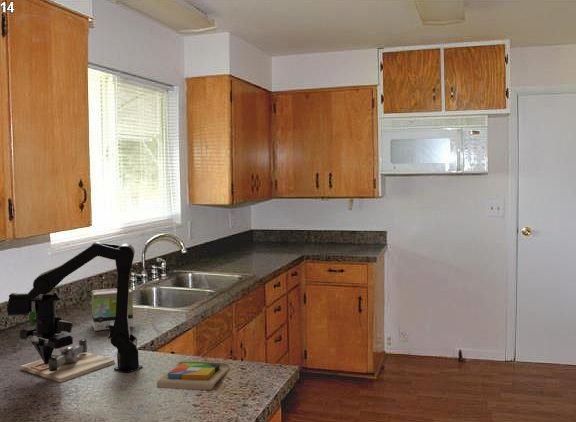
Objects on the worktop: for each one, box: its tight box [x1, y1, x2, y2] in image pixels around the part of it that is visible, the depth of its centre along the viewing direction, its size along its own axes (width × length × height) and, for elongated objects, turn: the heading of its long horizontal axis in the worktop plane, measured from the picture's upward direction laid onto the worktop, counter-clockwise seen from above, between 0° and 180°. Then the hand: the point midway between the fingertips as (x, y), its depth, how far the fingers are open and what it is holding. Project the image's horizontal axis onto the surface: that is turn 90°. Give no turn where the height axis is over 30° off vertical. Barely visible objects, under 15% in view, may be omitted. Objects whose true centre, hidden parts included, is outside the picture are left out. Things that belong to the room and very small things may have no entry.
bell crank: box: [48, 338, 88, 372], centre depth 189 cm, size 11×20×5 cm, turn 170°
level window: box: [31, 363, 49, 371], centre depth 185 cm, size 6×6×1 cm
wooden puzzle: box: [156, 360, 230, 391], centre depth 177 cm, size 18×19×4 cm
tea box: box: [91, 287, 134, 332], centre depth 235 cm, size 15×10×15 cm, turn 114°
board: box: [20, 351, 116, 383], centre depth 189 cm, size 21×20×1 cm
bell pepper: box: [28, 308, 36, 327], centre depth 234 cm, size 8×8×10 cm
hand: (46, 363), depth 180 cm, fingers closed
